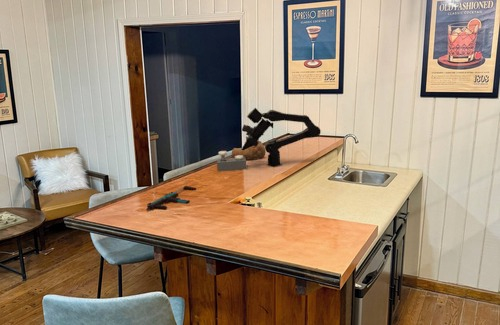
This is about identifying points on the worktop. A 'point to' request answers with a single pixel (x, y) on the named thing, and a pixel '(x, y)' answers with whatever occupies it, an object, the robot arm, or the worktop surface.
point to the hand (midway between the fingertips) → (242, 149)
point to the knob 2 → (239, 157)
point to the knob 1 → (223, 155)
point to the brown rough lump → (250, 151)
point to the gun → (169, 199)
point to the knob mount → (231, 164)
